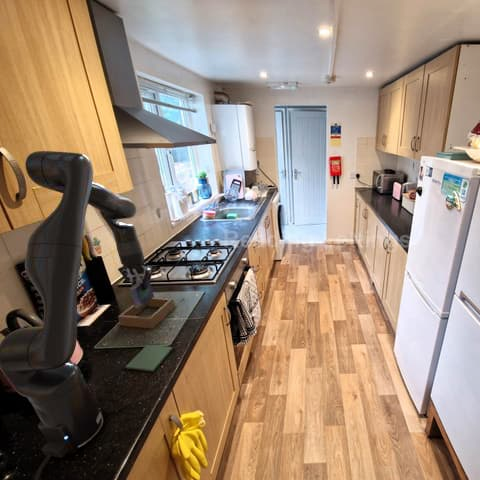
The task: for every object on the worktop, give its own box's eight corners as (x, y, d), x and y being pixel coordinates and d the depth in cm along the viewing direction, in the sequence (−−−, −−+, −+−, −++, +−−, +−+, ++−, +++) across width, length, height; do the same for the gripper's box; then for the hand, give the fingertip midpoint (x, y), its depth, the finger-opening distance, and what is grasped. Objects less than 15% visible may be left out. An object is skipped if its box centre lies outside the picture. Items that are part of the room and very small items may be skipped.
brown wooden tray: (152, 328, 106) (150, 319, 104) (120, 325, 107) (117, 316, 106) (175, 307, 119) (173, 298, 117) (146, 304, 120) (143, 296, 119)
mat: (153, 371, 86) (152, 369, 86) (125, 368, 88) (125, 366, 87) (172, 348, 96) (172, 347, 95) (147, 346, 97) (147, 344, 96)
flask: (139, 308, 105) (132, 285, 102) (132, 308, 106) (125, 285, 102) (155, 296, 114) (149, 274, 110) (149, 295, 114) (143, 273, 111)
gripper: (105, 253, 99) (118, 293, 105) (139, 255, 97) (150, 295, 103) (121, 246, 106) (132, 283, 112) (153, 248, 104) (163, 285, 110)
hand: (141, 289), depth 108 cm, fingers closed on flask, 3 cm apart
